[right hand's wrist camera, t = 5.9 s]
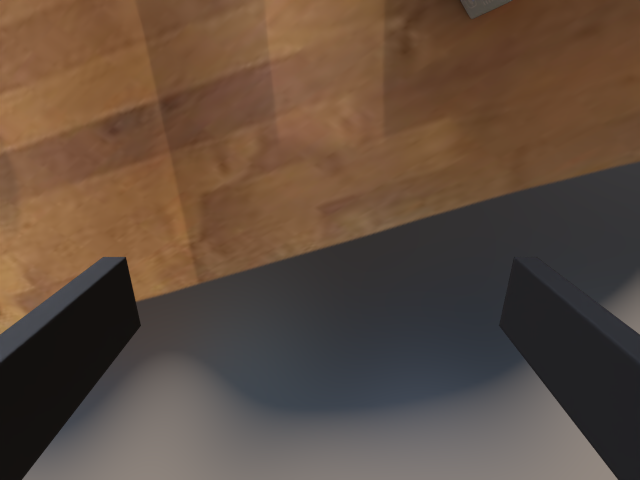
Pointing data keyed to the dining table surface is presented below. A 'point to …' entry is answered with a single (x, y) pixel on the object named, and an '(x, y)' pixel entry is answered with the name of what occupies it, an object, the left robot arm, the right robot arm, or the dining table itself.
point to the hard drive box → (481, 6)
